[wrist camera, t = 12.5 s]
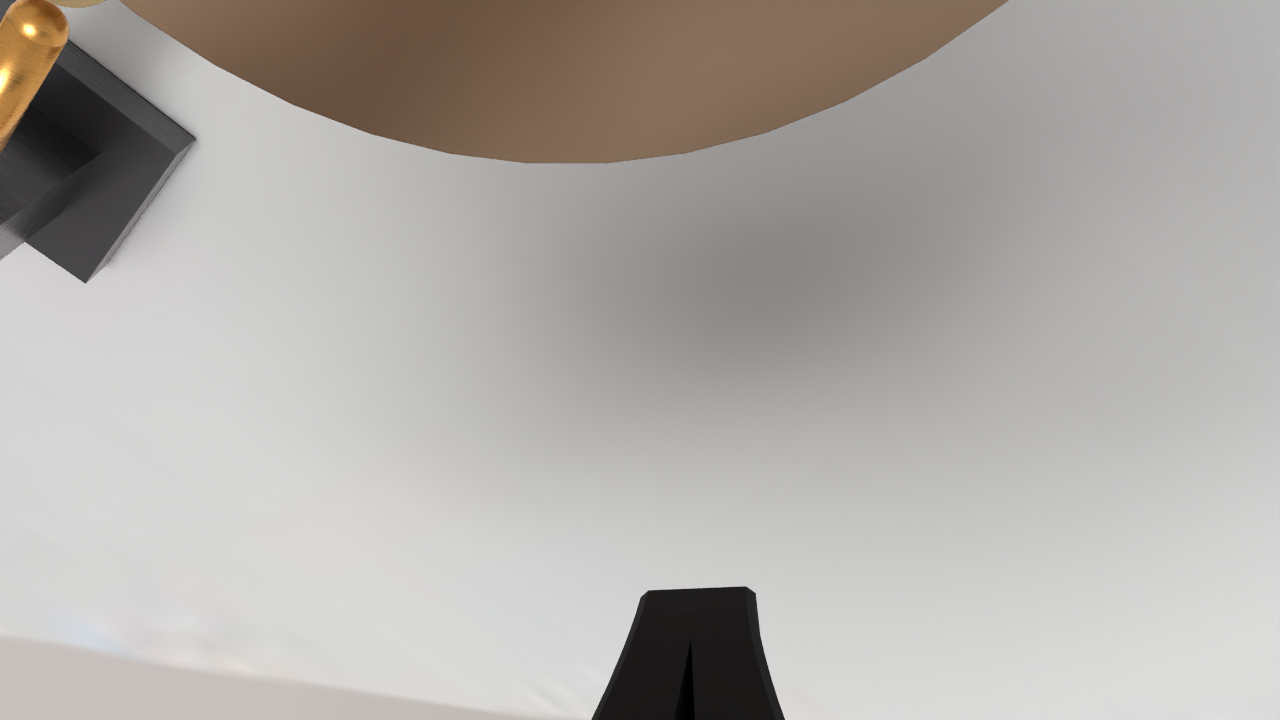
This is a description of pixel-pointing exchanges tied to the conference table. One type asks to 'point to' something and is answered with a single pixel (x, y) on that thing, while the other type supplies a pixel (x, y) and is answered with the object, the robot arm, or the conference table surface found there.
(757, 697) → the robot arm
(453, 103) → the platter
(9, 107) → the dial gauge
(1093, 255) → the conference table surface
